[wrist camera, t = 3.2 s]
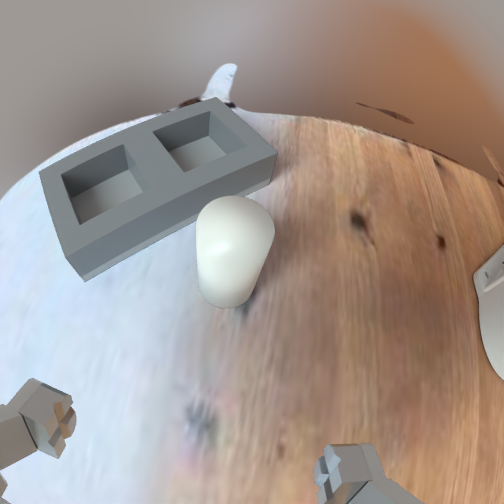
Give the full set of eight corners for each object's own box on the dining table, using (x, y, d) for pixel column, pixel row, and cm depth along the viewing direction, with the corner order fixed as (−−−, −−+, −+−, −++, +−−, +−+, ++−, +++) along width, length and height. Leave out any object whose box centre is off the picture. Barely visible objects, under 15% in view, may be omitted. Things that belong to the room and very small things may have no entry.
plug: (231, 254, 26) (244, 185, 19) (262, 294, 25) (290, 237, 17) (187, 279, 25) (181, 216, 17) (218, 323, 23) (225, 277, 16)
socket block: (213, 127, 34) (216, 97, 30) (268, 184, 31) (278, 152, 27) (53, 200, 26) (38, 171, 22) (84, 282, 23) (65, 257, 19)
